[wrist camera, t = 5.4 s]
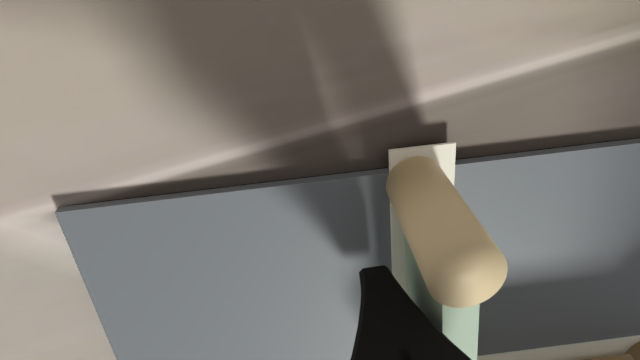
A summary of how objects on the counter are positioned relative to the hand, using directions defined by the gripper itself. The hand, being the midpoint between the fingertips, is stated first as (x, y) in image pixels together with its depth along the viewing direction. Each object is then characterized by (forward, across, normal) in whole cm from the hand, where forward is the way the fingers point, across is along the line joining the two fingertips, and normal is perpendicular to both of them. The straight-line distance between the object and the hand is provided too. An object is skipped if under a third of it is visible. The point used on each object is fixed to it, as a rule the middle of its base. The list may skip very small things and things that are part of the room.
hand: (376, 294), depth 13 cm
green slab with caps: (+1, -1, 0) cm, 2 cm away
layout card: (+2, -2, +4) cm, 4 cm away
